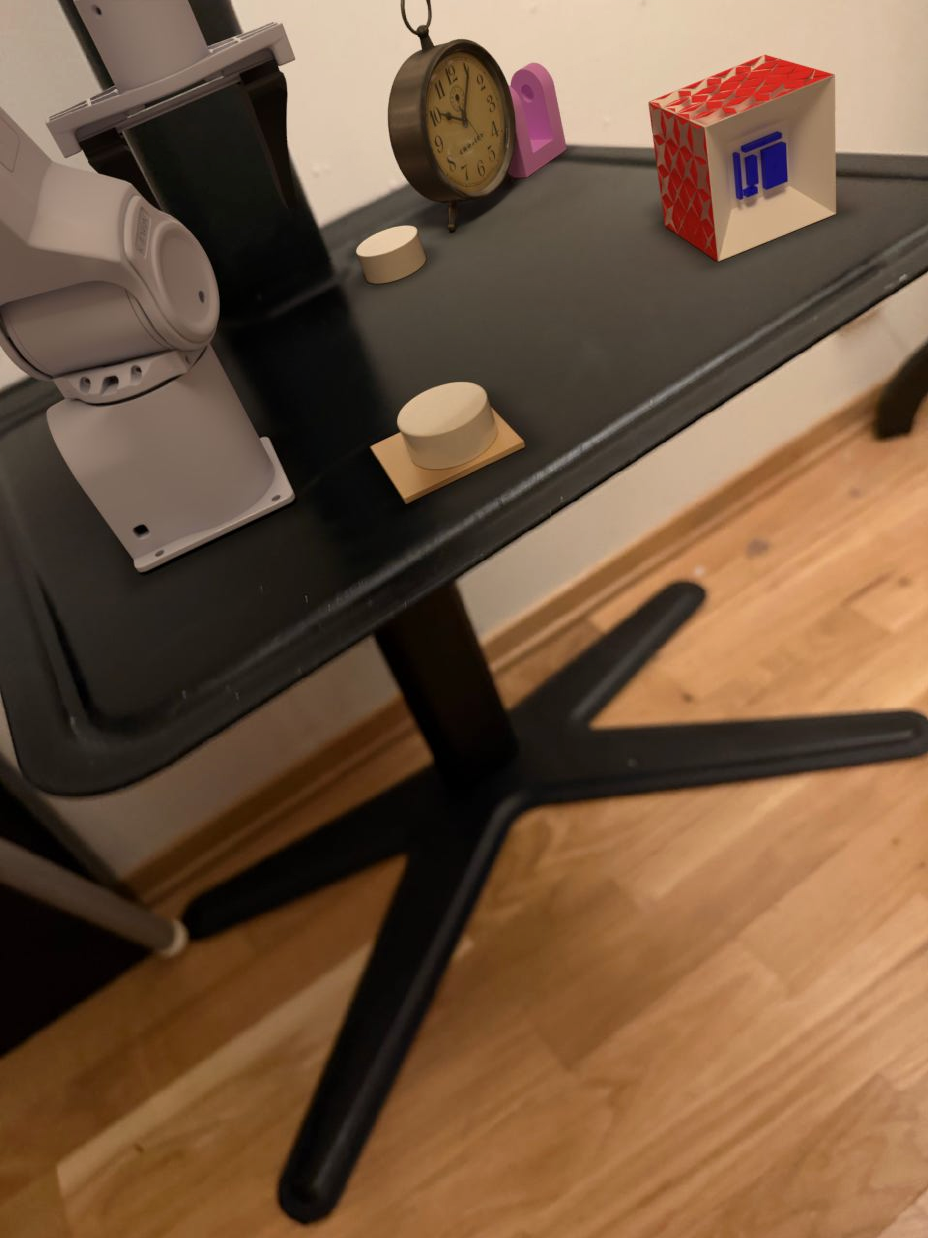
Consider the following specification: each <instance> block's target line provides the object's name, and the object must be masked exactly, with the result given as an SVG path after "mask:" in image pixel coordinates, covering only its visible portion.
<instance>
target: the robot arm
mask: <svg viewBox="0 0 928 1238" xmlns="http://www.w3.org/2000/svg"><path fill="white" fill-rule="evenodd" d="M73 3H74V5H75V7H76V10H77V12H78V14H79V16H80V18H81V20H82V22H83V24H84V26H85V27H86V29H87V32H88V33H89V36H90V37H91V41H93V44H94V46H95V48H96V50H97V52H98V53H99V56H100V58H101V60H102V62H103V64H104V66H105V68H106V70H107V72H108V74H109V76H110V78H111V80H112V82H113V84H114V85H113V86H111V87H109V88H106V89H105V90H103V91H101V92H99V93H97V94H95V95H92V96H90V97H88V98H86V99H83V100H82V101H80V102H78V103H76V104H74V105H72V106H70V107H67V108H66V109H63V110H60V111H58V112H57V113H54V114H52V115H50V116H47V117H46V118H45V125H46V128H47V129H48V131H49V132H50V134H51V136H52V138H53V140H54V142H55V143H56V145H57V147H58V149H59V151H60V152H61V154H62V156H63V158H64V159H67V158H70V157H72V156H75V155H77V154H79V153H81V152H83V154H84V156H85V158H86V160H87V164H88V165H89V166H90V167H91V168H92V169H93V170H94V171H95V172H94V171H89V170H86V169H81V168H76V167H73V166H69V165H66V164H62V163H59V162H57V161H55V160H52V158H51V157H50V156H48V154H46V153H45V151H44V150H43V149H42V148H41V147H40V146H39V145H38V144H37V143H36V142H35V141H34V139H33V138H31V137H30V135H28V134H27V133H26V131H25V130H24V129H22V127H21V126H20V125H19V124H18V123H17V122H16V121H15V120H14V119H13V118H12V117H11V116H10V115H9V114H8V113H7V111H5V110H4V108H3V107H2V106H1V105H0V348H1V349H2V351H3V352H4V354H5V355H6V356H7V357H8V359H9V360H10V361H11V362H12V363H13V364H14V365H15V366H16V367H17V368H18V369H20V370H21V371H22V372H23V373H24V374H26V375H27V376H30V377H32V378H34V379H36V380H38V381H41V382H48V383H54V385H55V386H56V387H57V389H58V390H59V392H60V393H61V395H62V396H63V398H64V399H62V400H60V401H58V402H56V403H55V404H52V406H50V407H49V408H48V409H47V410H46V422H47V424H48V428H49V431H50V434H51V436H52V438H53V439H52V440H53V441H54V443H55V445H56V447H57V449H58V451H59V453H60V455H61V456H62V458H63V460H64V462H65V464H66V466H67V467H68V469H69V471H70V472H71V474H72V475H73V477H74V478H75V480H76V482H77V483H78V484H79V485H80V487H81V488H82V490H83V491H84V492H85V494H86V495H87V497H88V498H89V500H90V501H91V503H92V504H93V505H94V506H95V508H96V509H97V511H98V512H99V514H100V515H101V516H102V518H103V519H104V521H105V522H106V523H107V525H108V527H109V528H110V529H111V531H112V532H113V533H114V535H115V536H116V537H117V539H118V540H119V541H120V543H121V545H122V547H124V549H125V550H126V551H127V553H128V554H129V556H130V557H131V558H132V560H133V565H134V568H135V569H136V571H137V572H138V573H146V572H148V571H150V570H152V569H155V568H157V567H159V566H161V565H163V564H165V563H167V562H169V561H171V560H174V559H176V558H178V557H180V556H181V555H184V554H186V553H188V552H190V551H193V550H194V549H196V548H199V547H201V546H203V545H206V544H207V543H209V542H212V541H213V540H215V539H217V538H220V537H221V536H222V537H223V536H224V535H226V534H228V533H230V532H232V531H235V530H236V529H237V530H238V528H241V527H243V526H245V525H247V524H249V523H251V522H253V521H256V520H258V519H260V518H262V517H264V516H266V515H269V514H271V513H272V512H274V511H277V510H278V509H279V510H280V509H281V508H283V507H285V506H287V505H289V504H291V503H292V502H294V500H295V498H296V494H295V492H294V490H293V488H292V485H291V483H290V481H289V479H288V476H287V474H286V472H285V470H284V467H283V465H282V464H281V461H280V459H279V457H278V455H277V452H276V450H275V448H274V445H273V443H272V442H271V440H270V437H267V436H262V437H259V434H258V433H257V430H256V429H255V427H254V425H253V423H252V421H251V419H250V418H249V416H248V414H247V412H246V409H245V408H244V406H243V404H242V401H241V400H240V398H239V396H238V395H237V393H236V390H235V389H234V386H233V385H232V382H231V380H230V379H229V377H228V375H227V373H226V371H225V370H224V368H223V365H222V364H221V362H220V360H219V358H218V356H217V354H216V352H215V350H214V349H213V346H212V345H211V342H212V340H213V338H214V336H215V334H216V333H217V332H216V331H217V327H218V322H219V317H220V308H221V307H220V305H221V304H220V294H219V287H218V281H217V278H216V275H215V272H214V269H213V267H212V264H211V261H210V259H209V257H208V255H207V253H206V251H205V250H204V248H203V246H202V244H201V243H200V241H199V240H198V239H197V238H196V236H195V235H194V234H193V233H192V232H191V231H190V230H189V229H188V228H187V227H186V226H185V225H184V224H183V223H182V222H180V221H179V219H177V218H176V217H174V216H172V215H171V214H168V213H166V212H165V211H164V209H163V208H162V206H161V204H160V203H159V200H158V199H157V197H156V196H155V194H154V192H153V190H152V188H151V185H150V184H149V182H148V180H147V178H146V176H145V173H144V172H143V170H142V168H141V166H140V164H139V162H138V160H137V158H136V156H135V154H134V152H133V150H132V148H131V146H130V145H129V144H130V143H129V142H128V140H127V138H126V136H125V134H124V132H125V131H127V130H129V129H132V128H135V127H136V126H139V125H141V124H144V123H146V122H148V121H150V120H153V119H155V118H158V117H160V116H162V115H165V114H167V113H169V112H172V111H174V110H176V109H178V108H181V107H184V106H186V105H187V104H191V103H192V102H194V101H197V100H200V99H202V98H204V97H207V96H208V95H211V94H213V93H216V92H218V91H220V90H223V89H226V88H227V87H229V86H232V85H235V84H236V85H235V91H236V93H237V95H238V97H239V100H240V101H241V103H242V106H243V108H244V110H245V112H246V114H247V117H248V119H249V122H250V123H251V126H252V128H253V130H254V133H255V136H256V137H257V140H258V142H259V144H260V147H261V149H262V152H263V154H264V157H265V160H266V161H265V162H266V164H267V167H268V170H269V172H270V175H271V179H272V181H273V185H274V187H275V189H276V191H277V193H278V196H279V199H280V200H281V203H282V204H283V205H284V206H285V208H287V210H289V211H290V210H292V209H295V208H297V207H299V202H298V199H297V195H296V192H295V186H294V182H293V176H292V171H291V164H290V156H289V145H288V144H289V143H288V97H289V96H288V95H289V93H288V82H287V78H286V75H285V74H284V72H283V71H281V70H280V67H281V66H282V67H283V66H284V65H286V64H289V63H291V62H294V61H296V56H295V54H294V51H293V47H292V46H291V42H290V39H289V37H288V35H287V32H286V29H285V26H284V24H283V22H280V21H277V20H273V21H271V22H268V23H266V24H264V25H262V26H259V27H256V28H253V29H251V30H248V31H245V32H242V33H241V34H238V35H235V36H232V37H230V38H227V39H224V40H222V41H219V42H216V43H213V44H211V45H207V42H206V39H205V37H204V35H203V33H202V30H201V28H200V26H199V23H198V21H197V19H196V16H195V14H194V11H193V9H192V6H191V5H190V2H189V0H73ZM202 80H204V82H205V83H203V84H201V85H198V86H196V87H193V88H191V89H189V90H186V91H184V92H182V93H179V94H177V95H175V96H173V97H170V98H168V99H165V100H163V101H161V102H158V103H156V104H154V105H151V106H149V107H146V106H145V105H146V104H149V103H152V102H155V101H156V100H160V99H162V98H165V97H168V96H170V95H173V94H176V93H178V92H180V91H182V90H185V89H186V88H189V87H191V86H193V85H195V84H197V83H199V82H201V81H202Z"/></svg>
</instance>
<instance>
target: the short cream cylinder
mask: <svg viewBox="0 0 928 1238" xmlns="http://www.w3.org/2000/svg"><path fill="white" fill-rule="evenodd" d="M491 408H492V406H491V401H490V399H489V396H488V393H487V391H486V390H485V389H484V387H482V386H481V385H479V384H477V383H474V382H470V381H469V382H468V381H455V382H448V383H444V384H440V385H437V386H434V387H431V388H428V389H427V390H424V391H423V392H421V393H419V394H417V395H416V396H415V397H413V398H412V399H410V400H409V401H408V402H406V404H405V405H404V406H403V407H402V408H401V410H400V411H399V412H398V415H397V418H396V425H397V428H398V431H399V433H401V436H402V438H403V441H404V444H405V446H406V449H407V451H408V454H409V456H410V458H411V460H412V461H413V463H414V464H416V465H417V466H419V467H421V468H425V469H431V470H441V469H448V468H453V467H456V466H459V465H462V464H465V463H467V462H469V461H471V460H473V459H475V458H477V457H478V456H480V455H481V454H483V453H484V452H485V451H486V450H487V449H488V448H489V447H490V446H491V445H492V444H493V442H494V440H495V439H496V436H497V425H496V422H495V419H494V415H493V412H492V409H493V408H492V409H491Z"/></svg>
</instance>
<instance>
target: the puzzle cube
mask: <svg viewBox="0 0 928 1238" xmlns="http://www.w3.org/2000/svg"><path fill="white" fill-rule="evenodd" d="M647 103H648V105H647V106H648V111H649V112H648V113H649V118H650V119H649V120H650V126H651V132H652V141H653V148H654V156H655V157H654V158H655V163H656V170H657V177H658V186H659V193H660V200H661V201H660V202H661V208H662V215H663V222H664V227H665V228H667V229H669V230H670V231H672V232H673V233H675V234H676V235H678V236H679V237H680V238H682V239H684V240H685V241H687V242H688V243H690V244H691V245H692V246H694V247H696V248H697V249H698V250H700V251H701V252H702V253H704V254H706V255H708V256H709V257H710V258H712V259H713V260H714V261H716V262H717V263H719V262H721V261H723V260H726V259H729V258H731V257H733V256H736V255H738V254H740V253H743V252H745V251H748V250H750V249H753V248H755V247H758V246H760V245H763V244H765V243H768V242H770V241H773V240H775V239H778V238H780V237H782V236H786V235H788V234H790V233H792V232H794V231H795V232H796V231H798V230H800V229H802V228H805V227H807V226H809V225H812V224H814V223H818V222H820V221H822V220H824V219H827V218H830V217H832V216H835V215H836V214H837V168H836V167H837V164H836V162H837V161H836V160H837V159H836V155H837V153H836V150H837V149H836V148H837V147H836V74H835V73H831V72H828V71H824V70H822V69H817V68H814V67H812V66H811V67H810V66H807V65H802V64H800V63H796V62H793V61H789V60H786V59H782V58H778V57H775V56H771V55H768V54H763V55H760V56H758V57H756V58H753V59H750V60H748V61H745V62H742V63H740V64H738V65H735V66H733V67H730V68H727V69H725V70H722V71H720V72H718V73H716V74H714V75H710V76H709V77H705V78H704V79H701V80H698V81H697V82H694V83H691V84H689V85H686V86H684V87H682V88H679V89H677V90H673V91H671V92H669V93H666V94H664V95H662V96H659V97H657V98H654V99H652V100H649V101H648V102H647Z"/></svg>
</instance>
